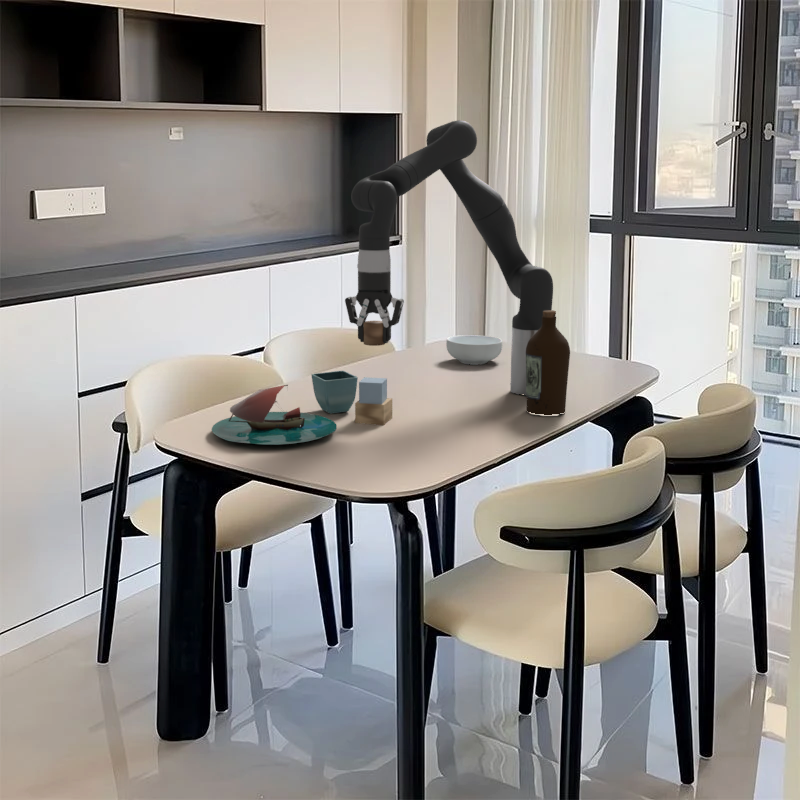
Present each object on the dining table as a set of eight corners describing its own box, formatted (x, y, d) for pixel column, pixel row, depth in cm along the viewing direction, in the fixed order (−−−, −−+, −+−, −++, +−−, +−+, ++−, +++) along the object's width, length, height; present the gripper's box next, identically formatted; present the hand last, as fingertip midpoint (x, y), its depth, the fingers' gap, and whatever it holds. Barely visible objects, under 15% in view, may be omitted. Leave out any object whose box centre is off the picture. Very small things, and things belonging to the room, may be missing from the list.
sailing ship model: (199, 425, 256) (197, 378, 253) (313, 414, 266) (312, 369, 264) (230, 457, 231) (228, 405, 228) (354, 443, 241) (354, 393, 239)
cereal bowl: (504, 368, 320) (504, 344, 319) (446, 367, 321) (447, 344, 319) (499, 357, 337) (500, 334, 335) (445, 356, 337) (445, 333, 335)
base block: (392, 418, 263) (392, 398, 262) (383, 425, 256) (383, 405, 255) (364, 416, 265) (364, 396, 264) (355, 423, 258) (355, 403, 257)
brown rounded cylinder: (387, 342, 258) (387, 321, 257) (381, 346, 253) (381, 324, 252) (367, 341, 259) (367, 320, 258) (360, 345, 255) (360, 323, 253)
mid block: (386, 398, 261) (387, 378, 260) (382, 404, 256) (382, 383, 255) (364, 397, 262) (364, 377, 261) (359, 403, 257) (358, 382, 256)
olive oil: (553, 405, 276) (556, 306, 270) (575, 415, 266) (580, 312, 260) (515, 409, 272) (518, 309, 266) (537, 419, 262) (541, 315, 256)
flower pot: (325, 417, 264) (325, 380, 262) (311, 409, 271) (310, 373, 269) (358, 413, 268) (358, 377, 265) (343, 405, 275) (343, 370, 273)
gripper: (408, 268, 254) (408, 341, 258) (349, 266, 258) (350, 337, 262) (399, 272, 247) (399, 346, 251) (339, 269, 251) (339, 343, 255)
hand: (374, 341), depth 256 cm, fingers closed on brown rounded cylinder, 5 cm apart
